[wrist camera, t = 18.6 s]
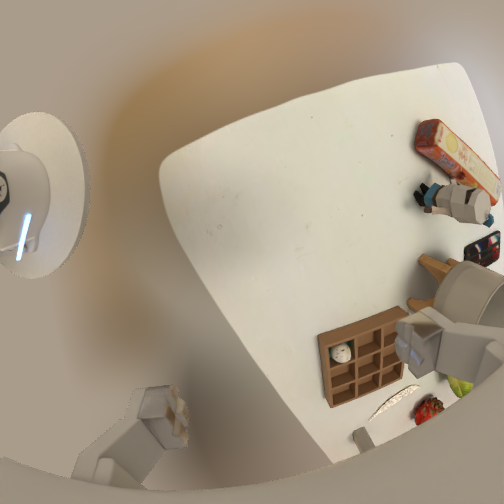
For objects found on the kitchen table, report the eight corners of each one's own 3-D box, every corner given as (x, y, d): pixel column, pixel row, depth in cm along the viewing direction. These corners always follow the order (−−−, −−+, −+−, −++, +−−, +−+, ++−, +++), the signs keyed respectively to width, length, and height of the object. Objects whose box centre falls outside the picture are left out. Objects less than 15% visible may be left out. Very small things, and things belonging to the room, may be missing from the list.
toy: (427, 167, 37) (494, 170, 23) (443, 195, 39) (506, 206, 24) (400, 200, 38) (469, 214, 24) (417, 228, 40) (482, 250, 25)
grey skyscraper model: (364, 426, 52) (383, 460, 40) (364, 436, 53) (382, 468, 42) (352, 431, 52) (370, 466, 40) (353, 441, 53) (370, 474, 41)
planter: (457, 283, 44) (517, 317, 27) (416, 325, 45) (472, 374, 28) (441, 234, 41) (515, 261, 23) (395, 280, 41) (466, 327, 24)
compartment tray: (317, 335, 42) (324, 346, 39) (398, 305, 43) (408, 313, 40) (325, 397, 47) (330, 408, 43) (394, 369, 47) (402, 378, 44)
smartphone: (466, 247, 41) (500, 230, 42) (464, 246, 42) (498, 229, 42) (465, 279, 43) (499, 259, 44) (463, 278, 44) (497, 258, 44)
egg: (325, 354, 43) (336, 371, 38) (329, 338, 42) (340, 355, 37) (342, 352, 43) (353, 369, 38) (346, 336, 42) (358, 353, 37)
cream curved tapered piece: (418, 377, 50) (422, 381, 48) (419, 387, 51) (422, 391, 49) (365, 411, 50) (367, 415, 48) (368, 419, 51) (370, 424, 49)
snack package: (409, 150, 36) (436, 148, 30) (417, 117, 35) (443, 112, 28) (475, 205, 40) (498, 210, 34) (481, 176, 39) (505, 179, 32)
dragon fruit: (426, 386, 53) (415, 409, 58) (415, 410, 48) (403, 431, 53) (452, 394, 47) (438, 417, 52) (442, 420, 42) (427, 440, 47)
